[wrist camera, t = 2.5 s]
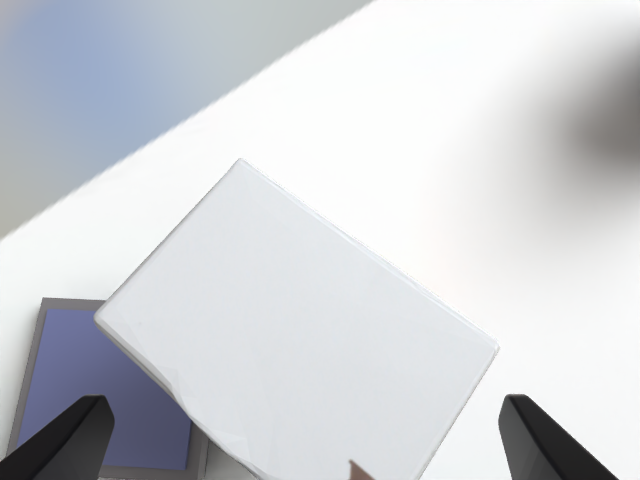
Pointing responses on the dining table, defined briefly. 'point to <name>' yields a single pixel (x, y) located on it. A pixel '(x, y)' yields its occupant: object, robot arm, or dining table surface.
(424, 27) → the dining table surface
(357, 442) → the skincare box
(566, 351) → the dining table surface
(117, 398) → the ink pad
